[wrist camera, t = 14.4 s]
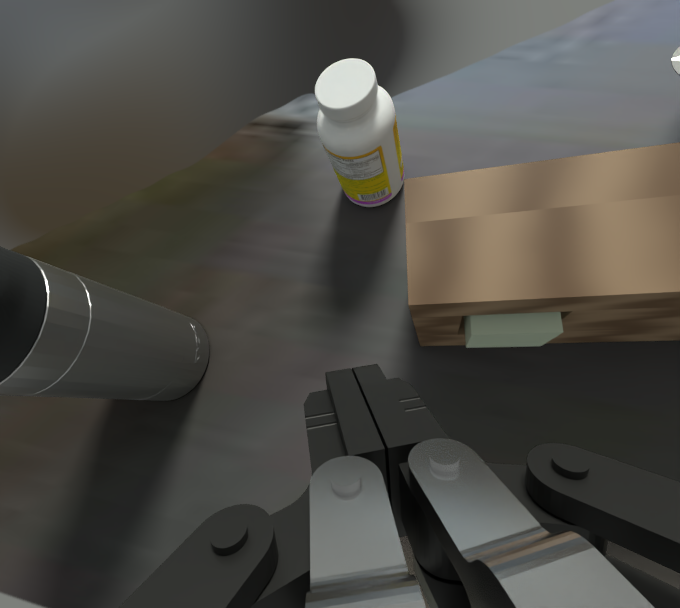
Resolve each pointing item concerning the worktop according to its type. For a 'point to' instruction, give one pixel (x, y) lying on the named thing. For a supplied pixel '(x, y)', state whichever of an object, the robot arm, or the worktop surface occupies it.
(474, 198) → the panel
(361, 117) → the supplement bottle
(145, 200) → the worktop surface
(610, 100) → the worktop surface
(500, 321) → the button sage
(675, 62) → the wineglass
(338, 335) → the worktop surface
